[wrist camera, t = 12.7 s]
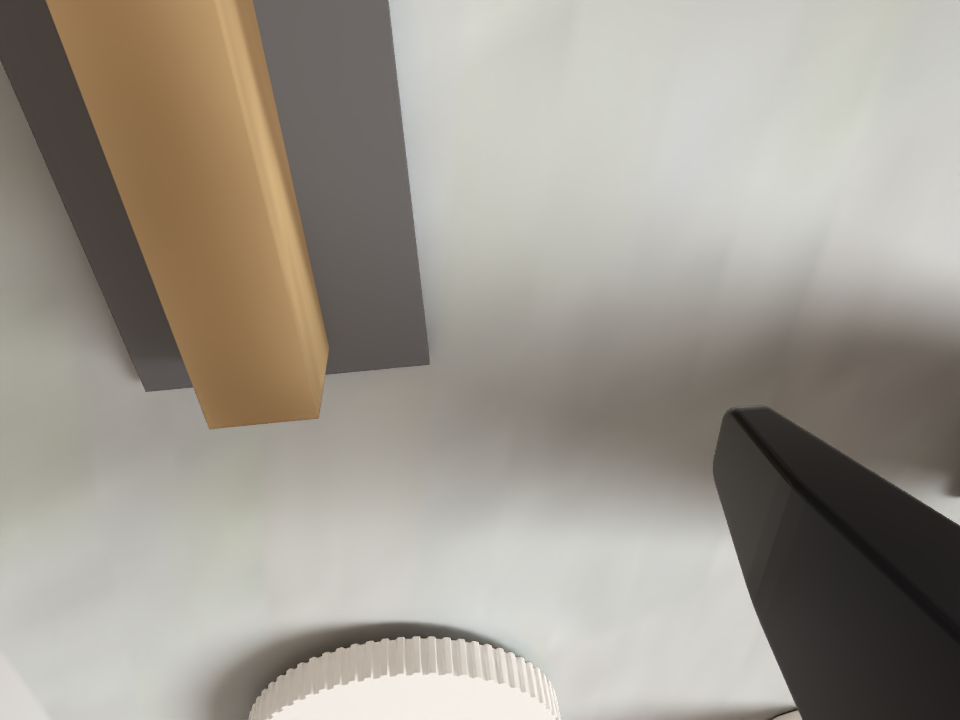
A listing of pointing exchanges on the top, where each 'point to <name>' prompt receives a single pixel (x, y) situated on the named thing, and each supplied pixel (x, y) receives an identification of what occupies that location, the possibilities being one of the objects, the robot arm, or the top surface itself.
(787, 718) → the white cup
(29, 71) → the mat
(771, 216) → the top surface
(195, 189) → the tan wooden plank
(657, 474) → the top surface
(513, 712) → the white gear
